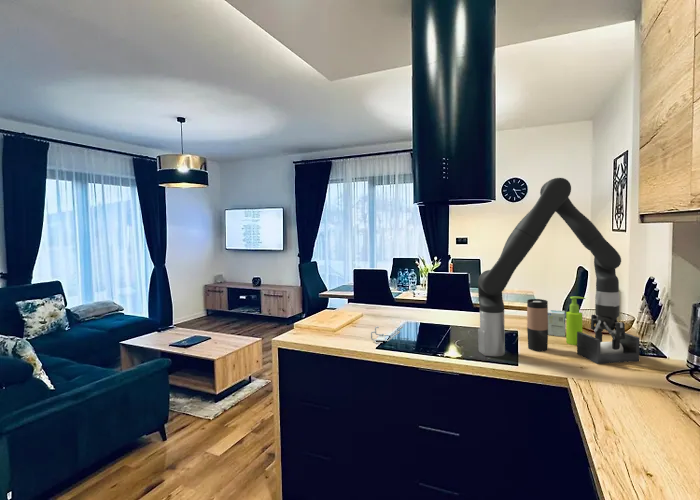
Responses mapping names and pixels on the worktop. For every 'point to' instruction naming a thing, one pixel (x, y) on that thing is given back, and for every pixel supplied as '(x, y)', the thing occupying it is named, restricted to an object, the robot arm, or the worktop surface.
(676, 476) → the worktop surface
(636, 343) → the holder
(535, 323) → the travel mug
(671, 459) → the worktop surface
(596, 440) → the worktop surface
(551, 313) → the light bulb box
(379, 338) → the wall mount rack
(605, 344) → the kitchen roll
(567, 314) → the soap dispenser
